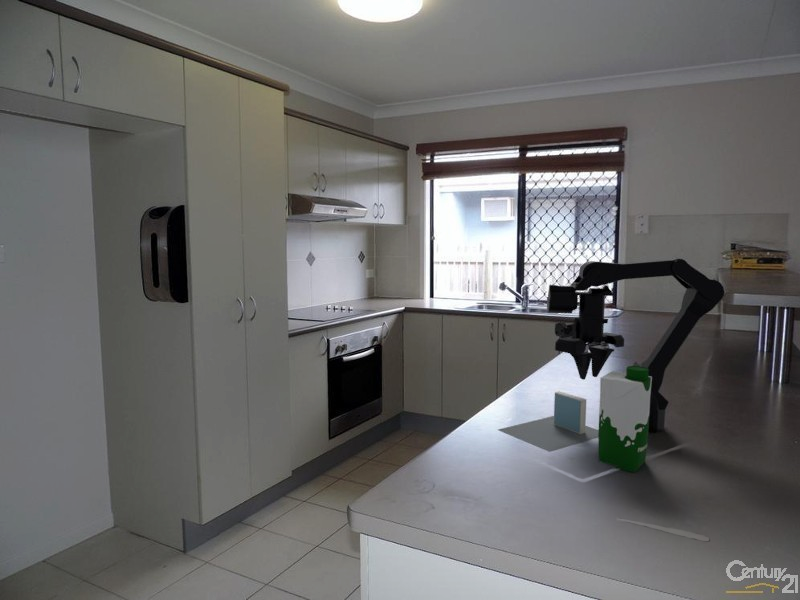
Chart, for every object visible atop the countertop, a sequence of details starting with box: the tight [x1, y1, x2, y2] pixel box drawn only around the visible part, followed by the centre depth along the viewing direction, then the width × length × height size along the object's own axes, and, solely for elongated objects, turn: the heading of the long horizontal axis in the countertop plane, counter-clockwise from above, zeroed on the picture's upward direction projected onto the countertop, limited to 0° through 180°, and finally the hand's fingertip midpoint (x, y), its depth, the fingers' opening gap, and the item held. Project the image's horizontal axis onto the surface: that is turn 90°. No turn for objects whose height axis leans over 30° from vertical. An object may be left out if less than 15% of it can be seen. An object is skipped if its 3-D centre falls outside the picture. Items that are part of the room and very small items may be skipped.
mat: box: [497, 415, 599, 453], centre depth 128 cm, size 16×20×1 cm
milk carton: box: [597, 365, 652, 473], centre depth 111 cm, size 9×9×20 cm
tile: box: [553, 390, 587, 434], centre depth 130 cm, size 8×2×8 cm, turn 33°
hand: (588, 377), depth 133 cm, fingers open, 4 cm apart
